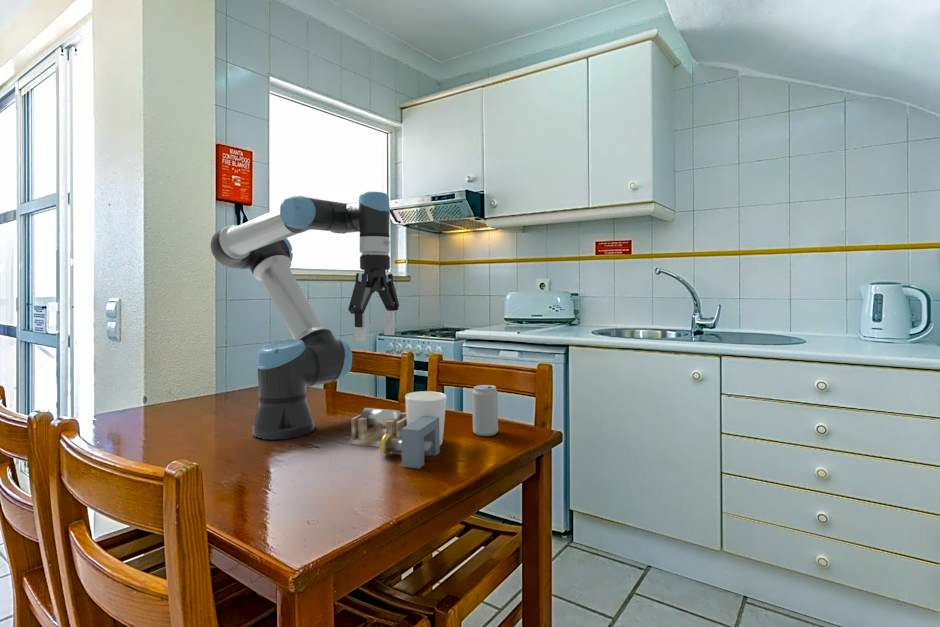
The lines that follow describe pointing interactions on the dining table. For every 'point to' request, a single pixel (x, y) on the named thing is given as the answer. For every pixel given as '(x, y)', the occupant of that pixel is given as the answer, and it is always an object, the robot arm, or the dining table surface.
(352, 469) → the dining table surface
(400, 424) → the cradle
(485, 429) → the beverage can
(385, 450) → the drift plunger
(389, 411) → the axle
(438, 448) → the grey arch block
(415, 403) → the white cup
